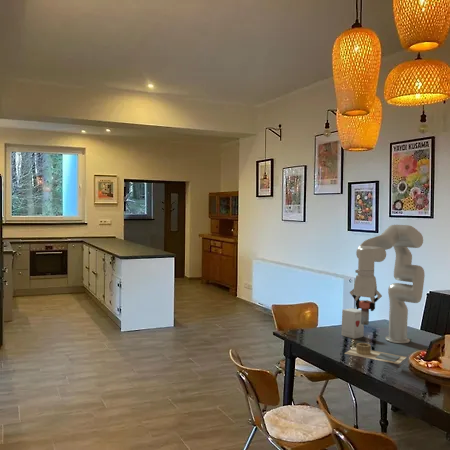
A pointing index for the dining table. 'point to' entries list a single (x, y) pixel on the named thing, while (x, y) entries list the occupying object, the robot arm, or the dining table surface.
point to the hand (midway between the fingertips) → (365, 309)
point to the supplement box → (352, 323)
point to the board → (374, 354)
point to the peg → (365, 311)
